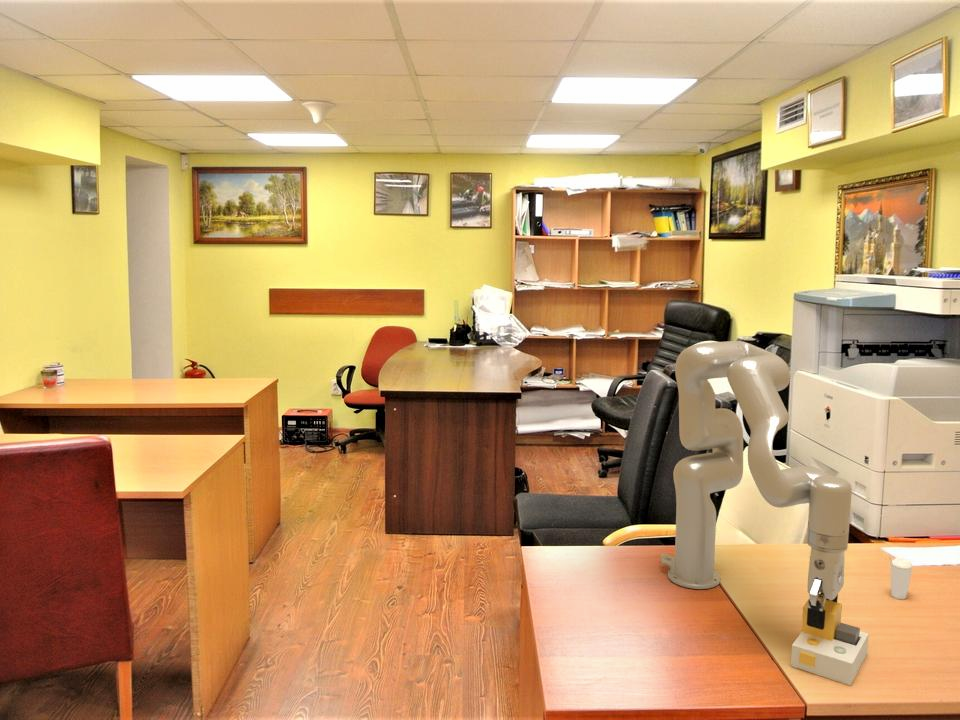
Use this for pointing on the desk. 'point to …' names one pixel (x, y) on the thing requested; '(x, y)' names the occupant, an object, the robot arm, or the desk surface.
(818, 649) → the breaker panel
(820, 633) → the cap
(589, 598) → the desk surface
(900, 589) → the milkshake
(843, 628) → the block
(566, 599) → the desk surface
